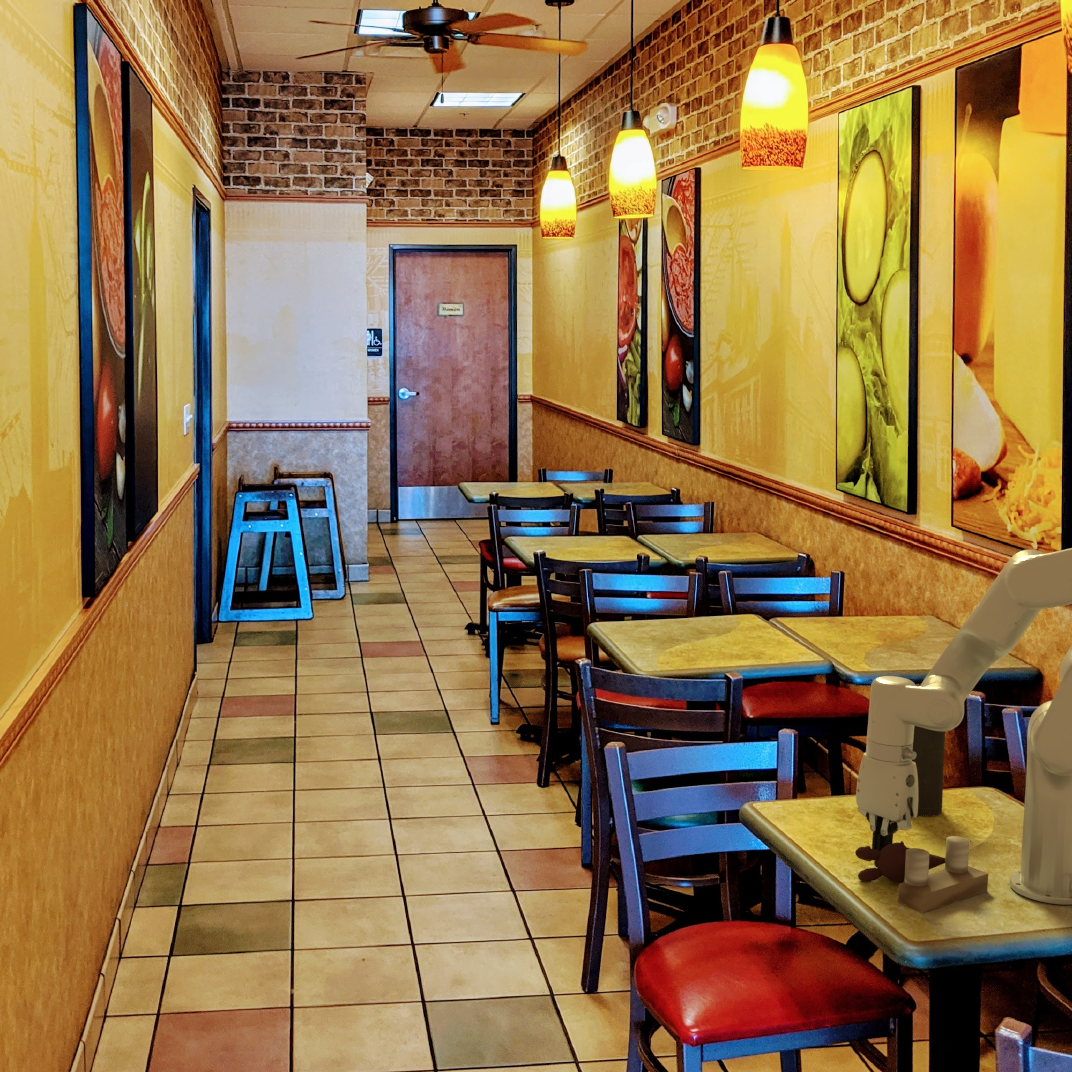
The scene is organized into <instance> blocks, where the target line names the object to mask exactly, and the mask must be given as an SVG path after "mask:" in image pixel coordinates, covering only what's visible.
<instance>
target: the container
mask: <svg viewBox="0 0 1072 1072" xmlns="http://www.w3.org/2000/svg"><path fill="white" fill-rule="evenodd" d="M945 741H946V731H933V730H929V729H925V728H922V727H918V726H914V737H913V751H914V752H916V754H917V756H916V758H915V759H914V760H913V759H912V761H913V762H915V763H916V768H917V775H918V813H917V816H919V817H934V816H935V817H936V816H939V815H941V814H942V813H943V799H944V798H943V797H944V795H943V793H944V792H943V791H944V788H943V787H944V768H945V767H944V765H945V764H944V763H945V746H946V744H945Z"/></svg>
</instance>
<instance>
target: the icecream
mask: <svg viewBox="0 0 1072 1072" xmlns="http://www.w3.org/2000/svg"><path fill="white" fill-rule="evenodd" d="M910 848H911V847H908V846H906V845H905V843H904V840H901V841H900V842H894V843H892V844H889V845H887V846H885V847H884V848H883V849H882V850H881V851H877V850H875V849H872V847H871V846H870V845H866V846H860V847H857V849H856V850H855V856H856V857H857V858H858V859H860V860H862V861H865V862H869V863H870V862H872V861H874V862H873V864H874V867H867V868H864V869H862V870H861V871H859V873H858V874H857V877H858V878H857V879H858V880H859V881H861V882H863V883H870V882H873V881H876V880H879V879H880V878H882V877H884V878H885V879H886V880H888V881H891V882H893V883H898V884H900V883H904V882H905V862H906V850H907V849H910ZM942 865H945V857H943V856H939V855H936V854H932V853H929V871H930V870H931V869H934V868H936V867H939V866H942Z"/></svg>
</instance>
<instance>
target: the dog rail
mask: <svg viewBox="0 0 1072 1072" xmlns="http://www.w3.org/2000/svg"><path fill="white" fill-rule="evenodd" d="M945 841H946V842H945V857H944V858H945V863H944V869H942V870H939V871H935V872H933V873H929V871H930V870H929V854H930V852H929V851H928V850H926V849H923V848H918V847H909V848H910V849H907V850H906V862H905V882H903V883H898V890H897V891H898V894H897V902H898V903H899V904H902V905H904V906H907V907H908V908H911V909H914V910H915V911H917V912H921V913H923V914H924V913H927V912H929V911H933V910H935V909H938V908H941V907H943V906H948V905H951V904H953V903H957V902H960V901H962V900H965V899H968V898H972V897H974V896H977V895H980V894H982V893H986V892H988V885H989V883H988V882H989V873H987V872H986V871H983V870H980V869H978V868H975V867H973V866H971V865H969V854H970V851H969V850H970V840H969V839H968V838H966V837H962V836H954V835H951V836H948V837H946V840H945Z"/></svg>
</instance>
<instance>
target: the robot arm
mask: <svg viewBox="0 0 1072 1072" xmlns="http://www.w3.org/2000/svg"><path fill="white" fill-rule="evenodd" d="M984 593H985V594H984V595H983V596H982V598H981V600H980V601H979V602H978V603H977V604H976V606H975V607H974V609H973V610H972V612H971V614H969V616H968V617H967V618H966V620H965V621H964V623H963V624H962V625H961V626H960V628H959V630H958V631H957V633H956V635H955V636H954V637H953V638H952V640H951V641H950V643H949V644H948V645H947V646H946V648H945V649H944V651H943V652H942V653H941V654H940V656H939V658H938V659H937V660H936V662H935V663H934V664H933V666H932V667H931V668H930V670H929V672H928V673H927V675H926V676H925V678H924V679H923V681H921V683H920V686H917V685H916V684H915V682H914V681H912V680H910V679H909V678H905V677H901V676H895V675H893V676H892V675H883V676H878V677H876V678H874V679H873V680H872V682H871V684H870V689H869V690H870V693H869V703H868V704H869V706H868V707H869V708H868V720H867V723H868V724H867V732H866V733H867V734H866V749H865V752H864V753H863V754H862V758H861V762H860V766H859V771H858V775H857V782H856V792H855V801H856V805H857V812H858V813H859V814H860V815H862V816H863V817H865V818H866V820H867V821H868V823H869V829H870V831H871V832H872V844H871V849H875V850H877V851H881V850H882V849H883V848H884V847H885V846H887V845H889V844H893V839H894V834H896V833H897V832H898V831H909V830H911V829H912V820H913V819H916V818H917V813H918V775H917V768H916V763H915V762H913V761H912V759H913V760H914V759H915V758H916V756H917V754H916V752H914V751H913V737H914V726H918V727H922V728H925V729H929V730H933V731H945V732H949V731H951V730H953V729H956V728H957V727H958V726H959V725H960V724H961V722H962V721H963V719H964V715H965V701H966V699H967V698H968V696H969V695H970V694H971V692H972V691H973V690H974V688H975V686H976V685H977V684H978V683H979V681H980V680H981V678H982V677H983V675H984V674H985V673H986V672H987V671H988V669H989V668H990V667H991V666H992V665H993V664H995V663H996V662H998V661H999V660H1000V659H1003V658H1005V657H1006V656H1008V655H1009V654H1010V653H1011V652H1012V651H1013V650H1014V649H1015V647H1016V646H1017V645H1018V643H1019V642H1020V640H1021V638H1023V636H1024V635H1025V634H1026V631H1027V630H1028V629H1029V627H1030V626H1031V625H1032V623H1033V621H1035V620H1036V617H1037V616H1038V615H1039V614H1040V613H1041V611H1042V610H1045V609H1047V610H1048V609H1053V608H1057V607H1064V606H1067V605H1072V547H1071V548H1066V549H1062V550H1057V551H1054V552H1047V553H1046V552H1043V551H1040V550H1037V549H1032V548H1031V549H1023V550H1021V551H1018V552H1017V553H1015V554H1014V555H1013V556H1011V557H1010V558H1009V560H1008V561H1007V562H1006V564H1004V566H1003V568H1002V569H1001V571H1000V572H999V573H998V575H997V576H996V578H994V580H993V581H992V583H991V585H990V586H989V588H987V591H986V592H984ZM1059 679H1060V684H1059V686H1058V688H1057V690H1056V691H1055V695H1054V696H1053V698H1052V700H1049V701H1046V702H1044V703H1042V704H1040V705H1039V706H1037V708H1036V709H1035V710H1034V711H1033V712H1032V714H1031V717H1030V718H1029V722H1028V726H1027V737H1026V738H1027V739H1026V740H1027V743H1026V744H1027V749H1026V750H1027V751H1026V755H1027V756H1026V778H1025V793H1024V794H1025V795H1024V805H1023V806H1024V810H1023V822H1022V823H1023V824H1022V839H1021V842H1022V843H1021V855H1020V856H1021V857H1020V870H1018V871H1015V872H1014V873H1012V874H1010V876H1009V887H1010V888H1011V889H1012V890H1014V892H1015V893H1017V894H1019V895H1020V896H1023V897H1025V898H1027V899H1030V900H1034V901H1037V902H1041V903H1046V904H1047V903H1048V904H1053V905H1064V906H1066V905H1072V644H1071V645H1070V647H1069V649H1068V651H1067V653H1066V654H1065V655H1064V657H1063V659H1062V661H1061V663H1060V666H1059Z"/></svg>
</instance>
